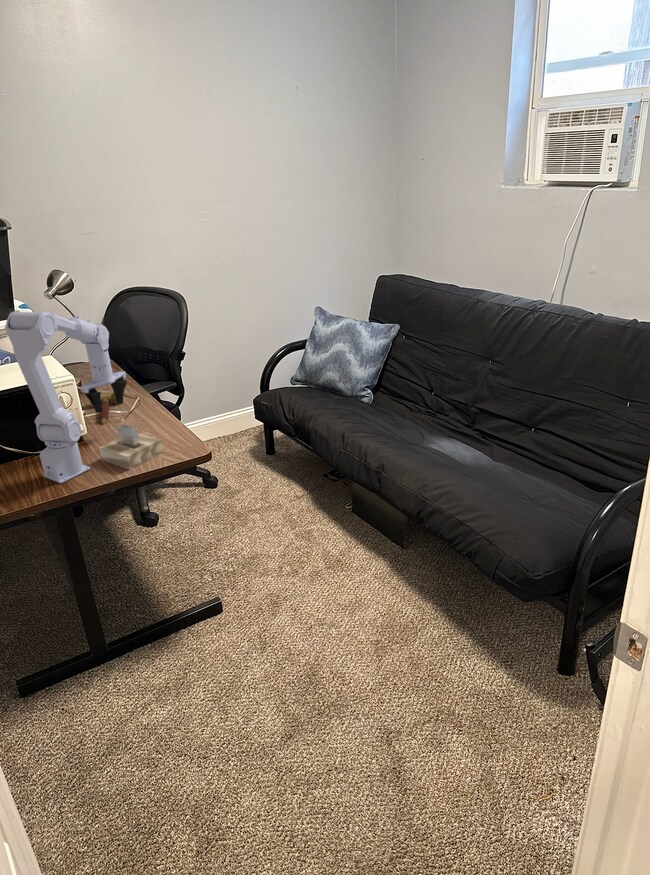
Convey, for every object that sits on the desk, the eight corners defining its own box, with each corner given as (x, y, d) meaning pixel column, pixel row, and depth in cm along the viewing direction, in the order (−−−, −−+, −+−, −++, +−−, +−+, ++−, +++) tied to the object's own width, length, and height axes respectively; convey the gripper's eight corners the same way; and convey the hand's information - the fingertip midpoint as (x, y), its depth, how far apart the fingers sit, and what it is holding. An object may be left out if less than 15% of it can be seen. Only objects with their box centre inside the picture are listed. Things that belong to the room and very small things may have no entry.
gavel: (118, 414, 195) (85, 418, 193) (120, 426, 198) (88, 431, 195) (119, 388, 213) (89, 392, 211) (122, 400, 215) (92, 404, 213)
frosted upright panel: (137, 460, 171) (131, 430, 167) (123, 455, 174) (116, 426, 170) (142, 457, 172) (136, 428, 169) (128, 452, 176) (122, 424, 172)
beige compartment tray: (130, 469, 166) (127, 456, 164) (101, 460, 172) (98, 447, 170) (163, 452, 175) (160, 439, 173) (135, 443, 181) (132, 431, 179)
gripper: (88, 373, 169) (98, 418, 175) (129, 359, 180) (137, 401, 186) (72, 370, 173) (82, 414, 179) (113, 356, 184) (122, 398, 190)
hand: (109, 407), depth 183 cm, fingers open, 7 cm apart
